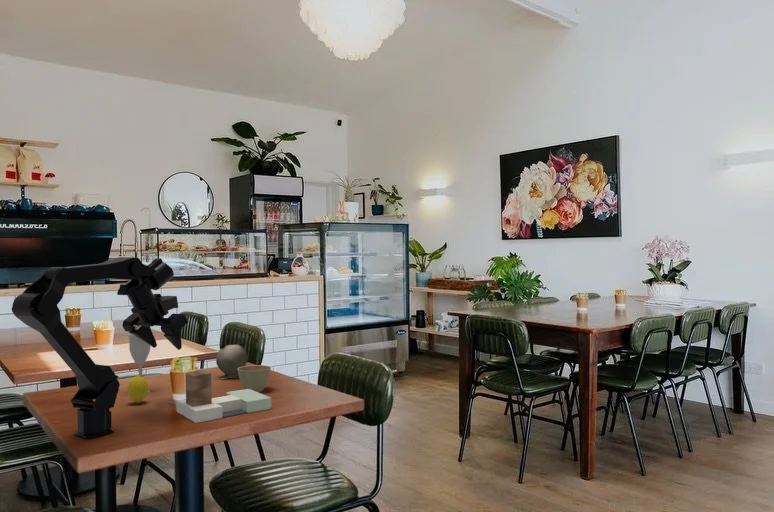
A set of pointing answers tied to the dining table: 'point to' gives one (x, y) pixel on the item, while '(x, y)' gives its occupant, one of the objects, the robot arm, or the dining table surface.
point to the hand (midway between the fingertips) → (167, 347)
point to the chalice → (138, 351)
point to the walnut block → (198, 388)
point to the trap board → (225, 406)
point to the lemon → (137, 389)
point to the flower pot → (254, 377)
